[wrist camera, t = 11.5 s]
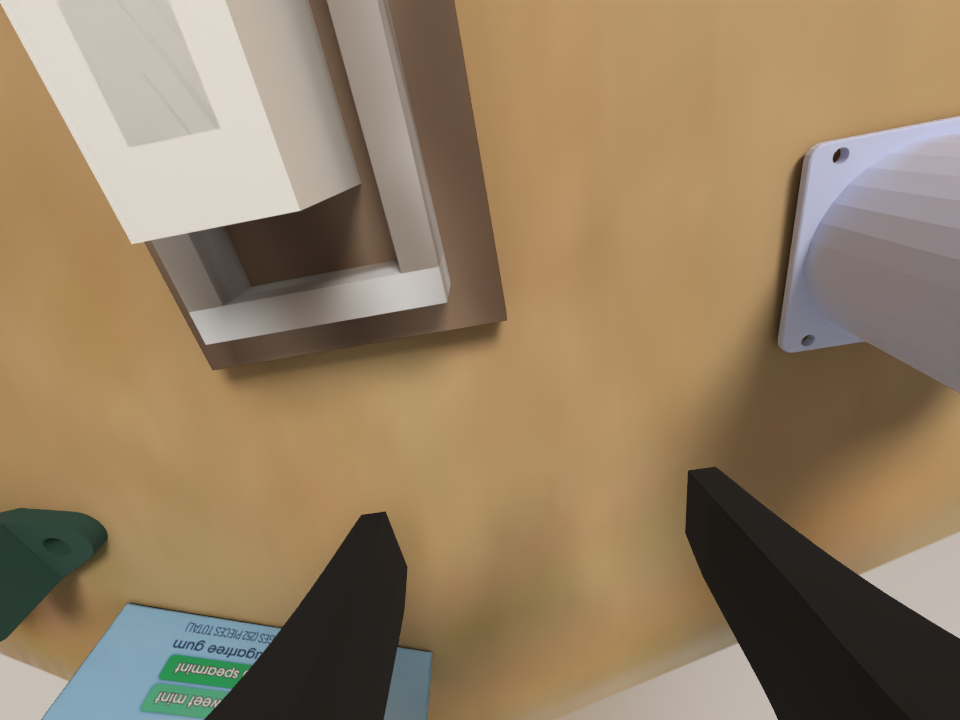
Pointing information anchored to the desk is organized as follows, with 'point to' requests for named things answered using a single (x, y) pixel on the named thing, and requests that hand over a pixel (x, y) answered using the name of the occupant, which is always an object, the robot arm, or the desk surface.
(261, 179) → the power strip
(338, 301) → the cradle
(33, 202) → the desk surface
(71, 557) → the mount
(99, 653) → the gum box
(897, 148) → the robot arm
